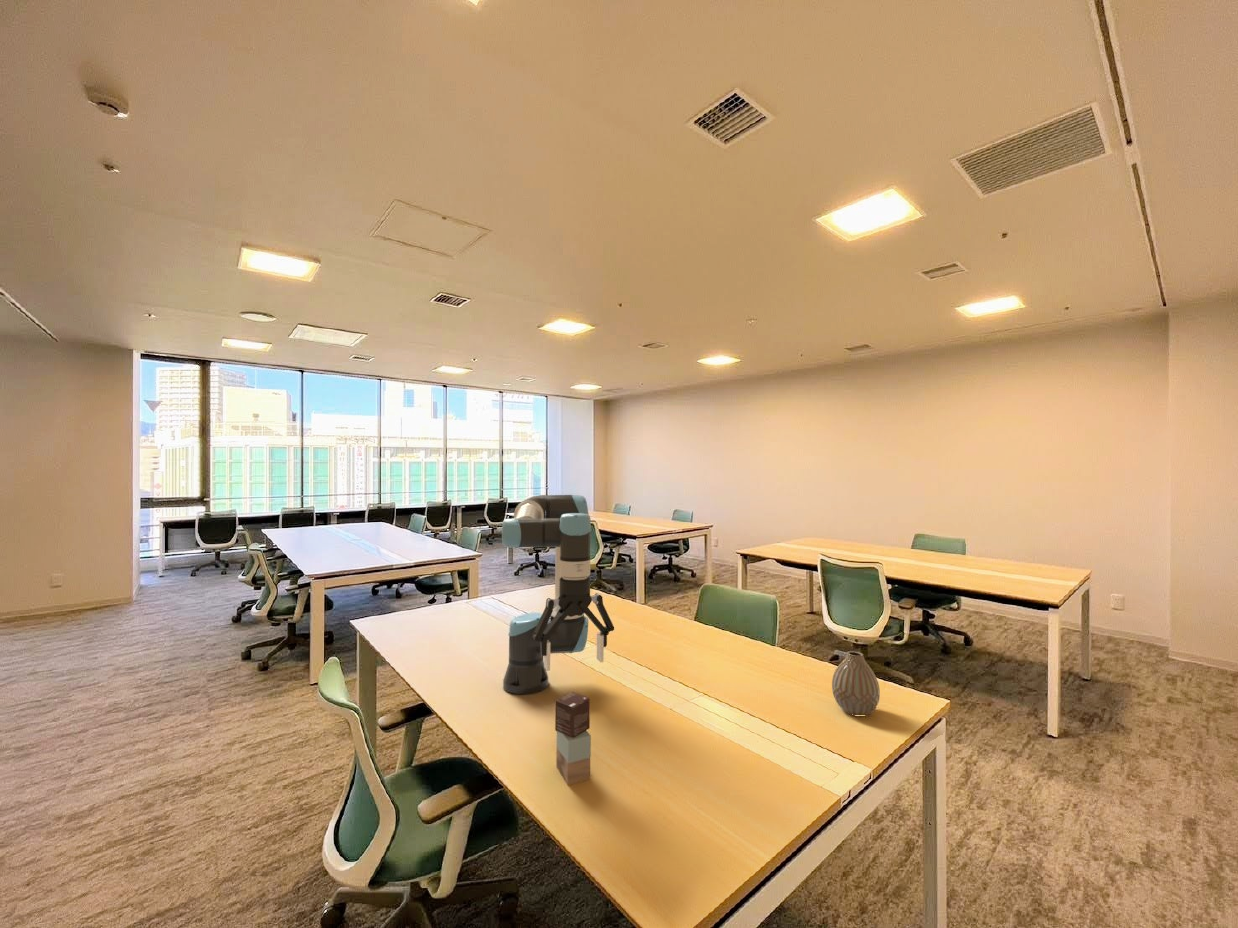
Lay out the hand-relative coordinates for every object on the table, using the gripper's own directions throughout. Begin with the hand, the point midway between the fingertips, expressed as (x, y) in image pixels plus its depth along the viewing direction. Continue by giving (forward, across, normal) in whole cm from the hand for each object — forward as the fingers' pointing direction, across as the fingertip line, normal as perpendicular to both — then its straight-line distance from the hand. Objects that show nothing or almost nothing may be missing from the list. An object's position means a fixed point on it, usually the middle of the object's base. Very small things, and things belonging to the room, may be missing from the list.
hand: (574, 664), depth 120 cm
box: (+15, -1, -1) cm, 15 cm away
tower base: (+25, -1, -2) cm, 25 cm away
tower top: (+20, -1, -2) cm, 20 cm away
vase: (+25, +88, -6) cm, 92 cm away
